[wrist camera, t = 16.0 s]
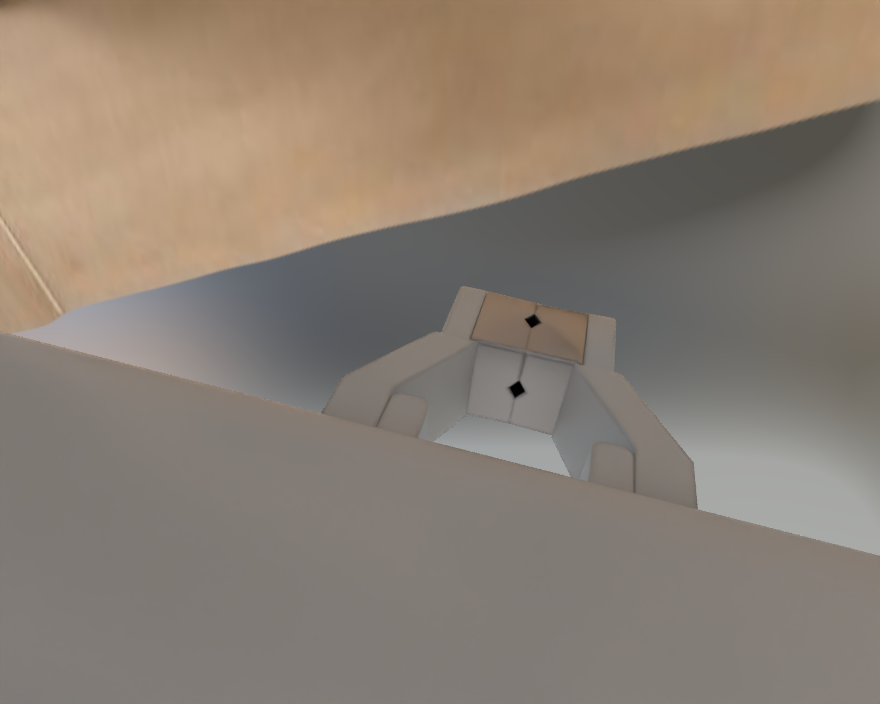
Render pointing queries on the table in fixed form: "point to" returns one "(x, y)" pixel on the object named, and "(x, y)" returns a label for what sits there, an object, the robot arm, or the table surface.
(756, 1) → the table surface
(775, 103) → the table surface
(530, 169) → the table surface
